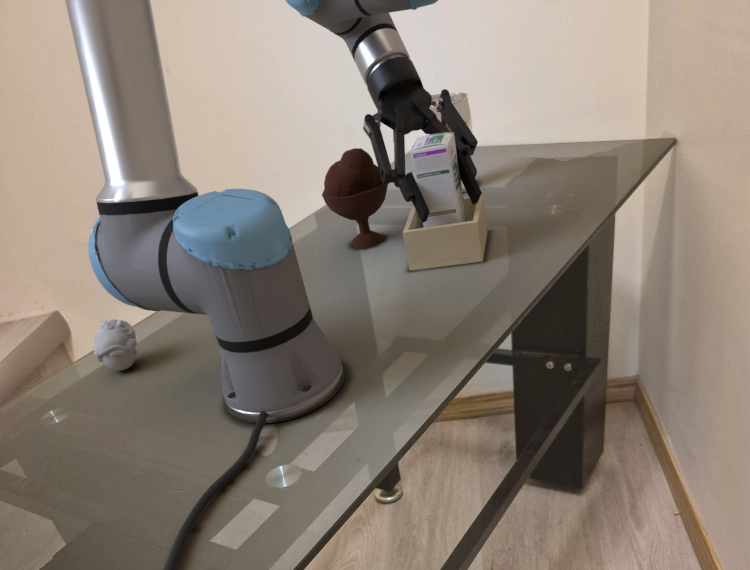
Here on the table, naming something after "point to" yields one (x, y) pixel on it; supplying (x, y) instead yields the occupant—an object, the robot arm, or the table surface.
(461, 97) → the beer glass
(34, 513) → the table surface
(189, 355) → the table surface
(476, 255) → the basket
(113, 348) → the frog figurine
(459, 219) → the syrup box
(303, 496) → the table surface
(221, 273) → the robot arm
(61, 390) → the table surface
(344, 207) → the ice cream bowl
